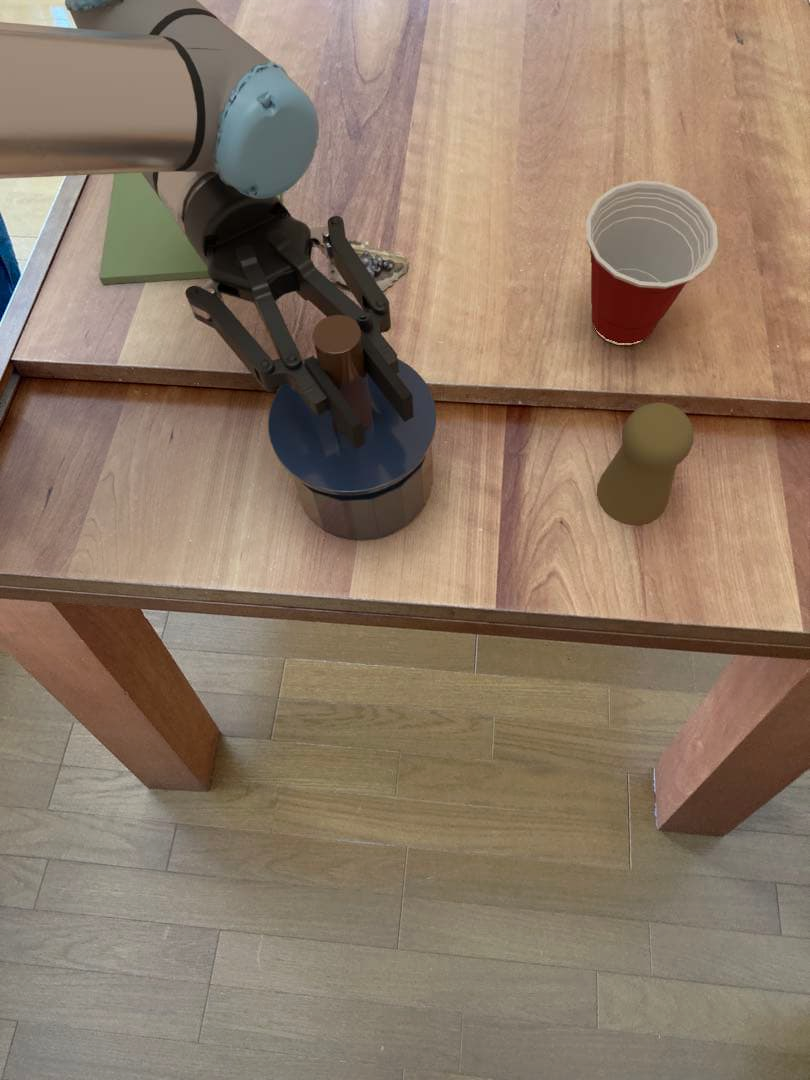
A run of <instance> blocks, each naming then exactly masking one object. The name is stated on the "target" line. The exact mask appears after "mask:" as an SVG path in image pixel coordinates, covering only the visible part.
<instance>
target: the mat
mask: <svg viewBox="0 0 810 1080" xmlns="http://www.w3.org/2000/svg"><path fill="white" fill-rule="evenodd" d="M110 194H111V195H110V200H109V201H110V202H109V207H108V208H109V210H108V214H107V216H108V217H107V221H106V228H105V235H104V242H103V249H102V256H101V261H100V262H101V263H100V269H99V276H98V278H99V280H100V282H101V284H102V285H115V284H118V285H119V284H129V283H130V284H131V283H133V284H134V283H145V282H146V283H147V282H160V281H161V282H162V281H163V282H164V281H178V280H192V279H194V280H195V279H209V276H208V273H207V266H206V265H205V263H204V262H203V260H202V259H201V257H200V256H199V255H198V253H197V252H196V250H195V249H194V247H193V246H192V245H191V243H190V242H189V240H188V238H187V236H186V235H185V234H184V233H183V232H182V230H181V229H180V227H179V226H178V224H177V223H176V221H175V220H174V218H173V217H172V215H171V214H170V212H169V211H168V210H167V208H166V207H165V205H164V204H163V202H162V201H161V199H160V198H159V197H158V195H157V194H156V192H155V191H154V190H153V188H152V187H151V185H150V184H149V183H148V181H147V180H146V178H145V177H144V176H143V174H142V173H124V174H113V180H112V187H111V193H110ZM277 197H278V198H279V200H280V201H281V202H282V203H283V193H281V194H279V195H277Z"/></svg>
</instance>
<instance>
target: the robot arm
mask: <svg viewBox="0 0 810 1080" xmlns="http://www.w3.org/2000/svg"><path fill="white" fill-rule="evenodd" d="M64 5H65V8H66V10H67V11H69V12H70V15H71V17H72V20H73V21H74V24H75V27H76V28H75V27H62V26H53V25H52V26H51V25H40V24H31V23H30V24H28V23H16V22H5V21H0V180H3V179H24V178H25V179H27V178H49V177H51V178H52V177H74V176H75V177H76V176H95V175H96V176H98V175H114V174H124V173H142V174H143V176H144V177H145V178H146V180H147V181H148V183H149V184H150V185H151V187H152V188H153V190H154V191H155V192H156V194H157V195H158V197H159V198H160V199H161V201H162V202H163V204H164V205H165V207H166V208H167V210H168V211H169V212H170V214H171V215H172V217H173V218H174V220H175V221H176V223H177V224H178V226H179V227H180V229H181V230H182V232H183V233H184V234H185V235H186V236H187V238H188V240H189V242H190V243H191V245H192V246H193V247H194V249H195V250H196V252H197V253H198V255H199V256H200V257H201V259H202V260H203V262H204V263H205V265H206V266H207V273H208V276H209V278H207V280H205V281H204V282H203V284H202V285H201V286H199V285H190V286H189V287H187V288H186V290H185V292H184V294H185V297H186V300H187V302H188V305H189V306H190V309H191V311H192V313H193V316H194V318H195V319H196V320H197V321H199V322H201V323H203V324H205V325H206V326H208V327H210V328H212V329H214V330H215V331H216V333H217V334H218V335H219V336H220V337H221V338H222V340H223V341H224V342H225V343H226V345H227V346H228V347H229V349H230V350H231V351H232V352H233V353H234V355H236V357H237V358H238V359H239V360H240V361H241V363H242V365H243V366H244V367H245V368H246V369H247V370H248V371H249V372H250V374H251V375H252V376H253V378H254V379H255V380H256V381H257V382H258V383H259V385H260V386H261V387H262V388H263V389H264V390H265V392H268V393H273V392H276V391H278V390H279V389H280V387H281V386H282V385H291V387H292V390H293V391H295V392H298V393H299V394H300V395H301V397H302V398H303V399H304V401H305V402H306V404H307V405H308V406H309V408H310V409H311V411H312V412H313V413H315V414H316V415H318V416H319V415H321V414H323V413H324V412H326V411H328V410H329V412H330V413H331V414H332V416H333V417H334V419H335V420H336V421H337V423H338V424H339V426H340V427H341V428H342V430H343V431H344V433H345V434H346V435H347V437H348V438H349V440H350V441H351V442H352V444H353V445H354V447H355V448H356V449H358V448H359V447H361V446H363V445H365V444H366V443H365V437H364V431H363V425H362V422H361V420H360V419H359V417H358V416H357V415H356V413H355V412H354V411H353V409H352V408H351V407H350V405H349V404H348V402H347V401H346V400H345V398H344V397H343V396H342V394H341V393H340V391H339V390H338V389H337V387H336V386H335V385H334V383H333V382H332V380H331V379H330V378H329V376H328V375H327V374H326V372H325V371H324V370H323V368H322V367H321V366H320V365H319V363H318V361H317V360H316V359H315V358H316V357H315V355H311V356H309V357H308V358H306V359H304V360H302V357H301V354H300V351H299V349H298V347H297V345H296V343H295V340H294V338H293V336H292V335H291V332H290V330H289V328H288V325H287V324H286V322H285V319H284V317H283V314H282V313H281V311H280V308H279V306H278V304H277V302H276V301H278V300H279V299H280V298H281V297H283V296H284V295H287V294H290V293H294V292H295V293H296V294H297V295H299V296H300V298H302V299H303V301H309V302H310V303H311V304H312V305H313V306H314V307H316V308H317V309H318V311H320V312H321V313H322V314H323V315H324V316H325V317H329V316H333V315H344V316H347V317H350V318H352V319H353V320H354V321H356V322H357V324H358V325H359V327H360V330H361V337H362V344H363V351H364V358H365V365H366V372H367V373H368V375H369V376H370V377H371V379H372V380H373V381H374V383H375V384H376V385H377V387H378V388H379V389H380V390H381V392H382V393H383V394H384V396H385V397H386V398H387V400H388V401H389V402H390V404H391V405H392V406H393V408H394V409H395V410H396V412H397V413H398V414H399V416H400V417H401V418H402V420H403V421H404V422H406V421H407V420H409V419H411V418H413V417H414V415H413V398H412V394H411V392H410V391H409V390H408V388H407V387H406V386H405V385H404V383H403V382H402V381H401V379H400V378H399V377H398V376H397V374H396V373H398V372H399V367H398V359H399V358H398V353H397V352H396V350H394V349H393V347H392V346H391V344H389V342H388V341H387V340H386V338H385V337H384V336H383V334H382V333H387V332H389V331H390V329H391V328H392V321H391V320H392V319H391V309H390V301H389V299H388V298H387V296H386V295H385V293H384V291H382V290H381V289H380V287H379V286H378V284H377V283H376V281H375V280H374V279H373V277H372V276H371V274H370V273H369V271H368V270H367V268H366V267H365V265H364V264H363V262H362V261H361V259H360V258H359V256H358V255H357V253H356V252H355V250H354V249H353V247H352V246H351V244H350V243H349V240H348V239H347V236H346V229H345V222H344V219H343V217H341V216H339V215H333V216H330V217H329V218H328V219H327V225H325V226H317V227H311V228H310V227H309V226H308V225H307V224H306V223H305V222H303V221H301V220H298V219H297V218H295V217H293V216H292V215H291V213H290V211H289V210H288V209H287V208H286V206H285V204H284V203H283V201H282V202H281V201H280V200H279V198H278V197H277V195H279V194H281V193H282V194H283V193H285V192H288V190H290V189H291V188H293V187H294V186H295V185H296V184H297V183H298V182H299V181H300V180H301V178H303V176H304V175H305V173H307V170H308V169H309V167H310V165H311V164H312V161H313V159H314V156H315V150H316V148H317V145H318V141H319V135H320V124H319V117H318V116H319V115H318V111H317V110H316V107H315V104H314V102H313V101H312V99H311V98H310V96H309V95H308V94H307V93H306V91H304V90H303V89H302V88H301V87H300V86H299V85H298V84H297V83H296V82H295V81H294V80H293V79H292V78H291V77H290V76H289V74H288V73H287V71H286V70H285V69H284V67H283V66H281V65H280V64H278V63H277V62H275V61H272V60H271V59H269V58H268V57H267V56H266V55H264V54H263V53H262V52H260V50H258V49H256V47H254V46H253V45H252V44H250V43H249V42H248V41H247V40H245V39H244V38H243V37H241V36H240V35H239V34H238V33H236V32H235V31H234V30H232V29H231V28H230V27H229V26H228V25H226V24H225V23H224V22H223V21H222V20H220V18H219V17H217V16H216V15H215V14H214V13H212V12H211V11H210V9H208V8H207V7H206V6H204V5H203V4H201V2H199V1H198V0H64ZM313 248H317V249H319V250H320V251H321V252H320V253H322V254H323V255H324V256H325V258H326V259H327V260H329V259H332V258H333V260H334V264H335V267H336V269H337V270H338V272H339V274H340V275H341V277H342V278H343V280H344V281H345V283H346V284H347V286H346V287H348V289H349V290H350V292H351V294H352V295H353V297H354V298H355V300H356V302H357V303H358V304H359V305H360V306H359V305H358V304H357V303H356V302H355V301H353V299H351V297H349V296H348V295H347V294H346V293H345V292H344V291H342V290H341V289H340V288H339V287H338V286H337V285H336V284H334V282H333V281H331V279H329V278H328V277H327V276H326V275H324V273H322V272H321V271H320V270H318V268H317V267H316V266H315V264H314V262H313V260H312V252H313ZM222 294H223V295H226V296H230V297H233V298H236V299H239V300H243V301H246V302H250V303H253V304H254V306H255V307H254V308H255V309H256V311H257V313H258V316H259V317H260V320H261V321H262V324H263V325H264V328H265V330H266V332H267V334H268V336H269V339H270V342H271V343H272V345H273V348H274V350H275V352H276V354H277V357H278V359H272V358H271V357H270V355H269V354H268V353H267V352H266V351H265V350H264V349H263V347H262V346H261V345H260V344H259V342H258V341H257V340H256V339H255V338H254V337H253V335H252V334H251V333H250V332H249V331H248V329H247V328H246V326H244V324H243V323H242V322H241V321H240V320H239V319H238V317H237V316H236V315H235V314H234V313H233V312H232V310H230V308H229V307H228V306H227V304H226V303H225V301H224V298H223V295H222Z"/></svg>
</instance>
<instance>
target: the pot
mask: <svg viewBox="0 0 810 1080" xmlns="http://www.w3.org/2000/svg"><path fill="white" fill-rule="evenodd" d="M433 471H434V467H433V444H432V445H431V447H430V449H429V451H428V453H427V454H426V456H425V457H424V459H423V460H422V462H421V463H420V464H419V465H418V466H417V467H416V468H415V470H413V471H412V472H411V473H410V474H409V475H408V476H406V477H405V478H403V479H402V480H400V481H399V482H397V483H396V484H394V485H392V486H390V487H388V488H385V489H382V490H379V491H377V492H372V493H368V494H362V495H335V494H329V493H325V492H321V491H318V490H316V489H313V488H310V487H309V486H307V485H305V484H303V483H301V482H300V481H298V480H297V479H296V478H294V477H293V476H292V475H291V474H290V473H289V472H288V471H287V472H288V475H289V478H290V480H291V484H292V486H293V489H294V492H295V495H296V497H297V498H298V501H299V503H300V505H301V508H302V509H303V512H304V514H305V515H306V516H307V517H308V518H309V519H310V520H311V521H312V522H313V523H314V524H315V525H316V526H317V527H319V528H320V529H321V530H323V531H325V532H327V533H329V534H331V535H333V536H335V537H338V538H342V539H346V540H351V541H371V540H378V539H381V538H385V537H388V536H390V535H394V534H395V533H397V532H399V531H401V530H403V529H404V528H405V527H407V526H409V525H410V523H412V522H413V521H414V520H415V519H416V518H417V517H418V516H419V514H420V513H421V512H422V510H423V509H424V508H425V506H426V504H427V503H428V500H429V498H430V495H431V493H432V492H431V491H432V488H433V485H434V472H433Z"/></svg>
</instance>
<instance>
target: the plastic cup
mask: <svg viewBox="0 0 810 1080" xmlns="http://www.w3.org/2000/svg"><path fill="white" fill-rule="evenodd" d="M713 218H714V217H713V216H712V214H711V213H710V211H709V209H708V207H707V206H706V204H704V203H702V201H700V200H699V199H698V198H697V197H695V196H694V195H693V194H691V193H690V192H689V191H688V190H685V189H683V188H680V187H678V186H675V185H672V184H670V183H667V182H664V181H655V180H634V181H631V182H626V183H623V184H619V185H616V186H613V187H611V188H610V189H609V190H608V191H606V192H605V193H603V194H602V195H601V196H599V197H598V198H597V199H596V200H595V201H594V204H593V205H592V206H591V209H590V211H589V212H588V214H587V216H586V225H585V226H586V229H585V230H586V235H585V236H586V244H587V246H588V248H589V254H590V264H591V270H590V271H591V272H590V273H591V275H590V304H591V322H592V325H593V324H594V326H595V328H596V330H597V331H598V332H599V333H600V334H601V335H603V336H604V337H605V338H606V339H609V340H612V341H615V342H617V343H634V342H637V341H641V340H643V341H644V340H646V339H647V338H648V337H650V335H651V334H652V333H654V330H656V328H657V326H658V324H659V322H661V319H663V318H664V317H665V315H666V314H667V312H669V309H670V308H671V307H672V305H673V304H674V302H675V300H676V299H677V298H678V297H679V295H680V293H681V292H682V290H683V289H684V287H685V285H687V284H689V282H691V280H693V279H695V278H696V277H697V276H699V274H701V273H702V272H703V271H704V270H706V269H707V268H708V267H709V266H710V264H711V262H712V260H713V258H714V256H715V254H716V252H717V250H718V248H719V240H718V239H719V238H718V225H717V224H716V221H715V220H714V219H713ZM596 330H595V331H596ZM647 336H648V337H647ZM646 337H647V338H646ZM645 338H646V339H645Z"/></svg>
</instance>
